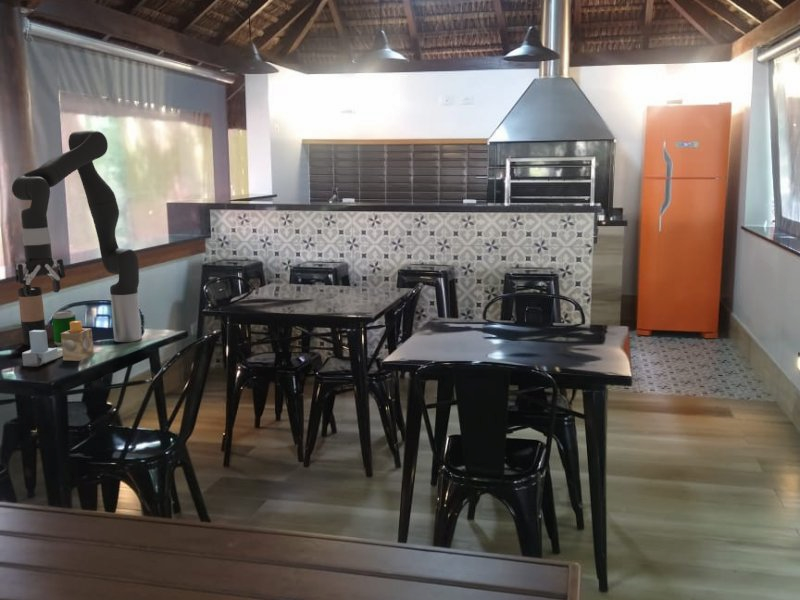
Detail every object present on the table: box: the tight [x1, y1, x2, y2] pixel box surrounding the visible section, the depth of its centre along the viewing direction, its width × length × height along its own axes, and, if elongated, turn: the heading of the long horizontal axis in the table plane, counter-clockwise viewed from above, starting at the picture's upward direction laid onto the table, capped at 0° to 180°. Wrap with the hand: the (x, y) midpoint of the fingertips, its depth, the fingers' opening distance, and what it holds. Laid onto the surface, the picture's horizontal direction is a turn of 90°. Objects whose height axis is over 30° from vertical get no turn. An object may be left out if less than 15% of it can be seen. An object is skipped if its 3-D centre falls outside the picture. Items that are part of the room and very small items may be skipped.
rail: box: [21, 345, 63, 368], centre depth 251 cm, size 23×5×4 cm, turn 170°
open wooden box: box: [61, 327, 95, 362], centre depth 250 cm, size 8×6×9 cm
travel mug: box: [17, 286, 46, 347], centre depth 270 cm, size 8×8×20 cm
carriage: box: [21, 329, 58, 364], centre depth 244 cm, size 7×8×10 cm
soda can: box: [51, 309, 77, 347], centre depth 268 cm, size 8×8×12 cm
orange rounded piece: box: [70, 320, 83, 333], centre depth 249 cm, size 4×4×5 cm
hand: (42, 294), depth 236 cm, fingers open, 8 cm apart
